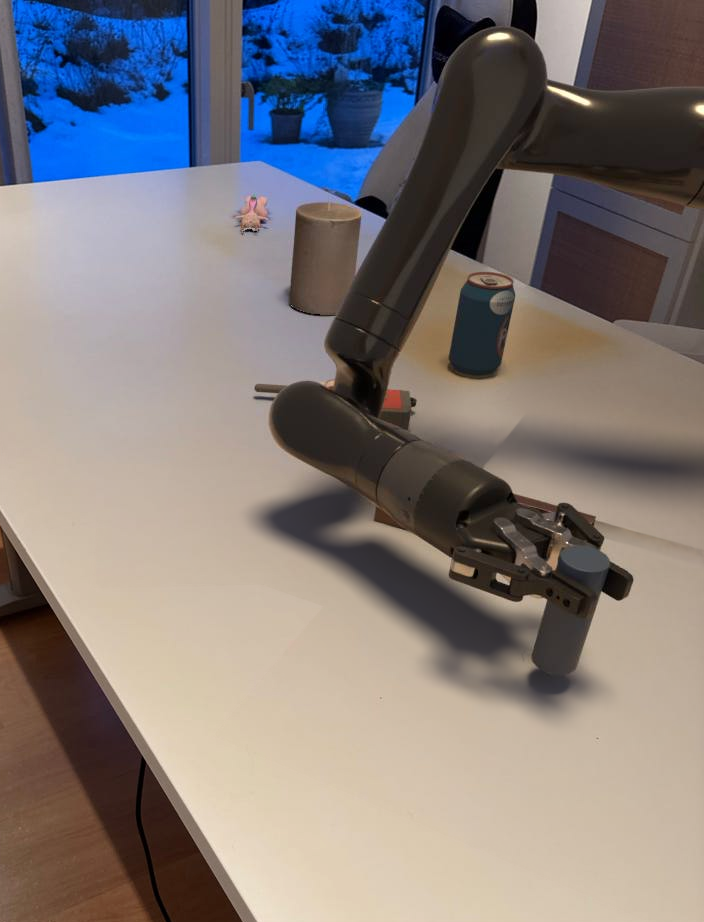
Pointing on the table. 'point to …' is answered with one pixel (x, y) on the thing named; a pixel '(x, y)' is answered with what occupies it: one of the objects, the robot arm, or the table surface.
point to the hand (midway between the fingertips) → (609, 598)
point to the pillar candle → (323, 256)
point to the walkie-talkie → (393, 407)
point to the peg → (561, 629)
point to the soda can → (481, 324)
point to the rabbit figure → (253, 212)
